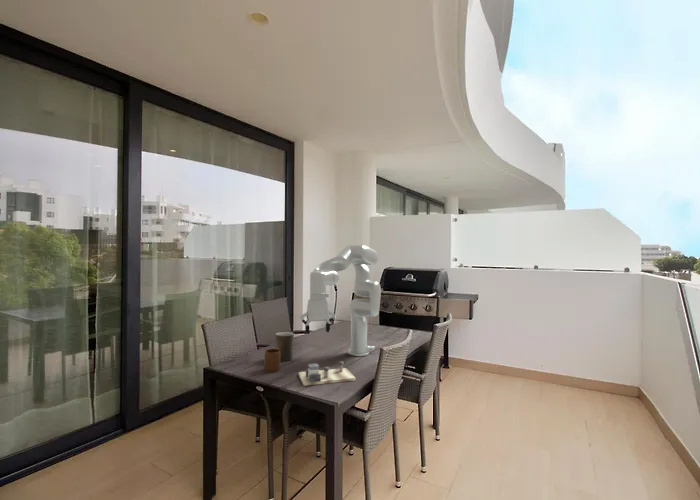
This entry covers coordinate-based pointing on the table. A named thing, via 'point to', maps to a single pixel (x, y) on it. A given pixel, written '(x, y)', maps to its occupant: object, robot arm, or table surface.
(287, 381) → the table surface
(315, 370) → the grey rectangular block
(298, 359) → the table surface
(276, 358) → the mug
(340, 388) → the table surface
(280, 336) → the pillar candle
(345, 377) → the board
